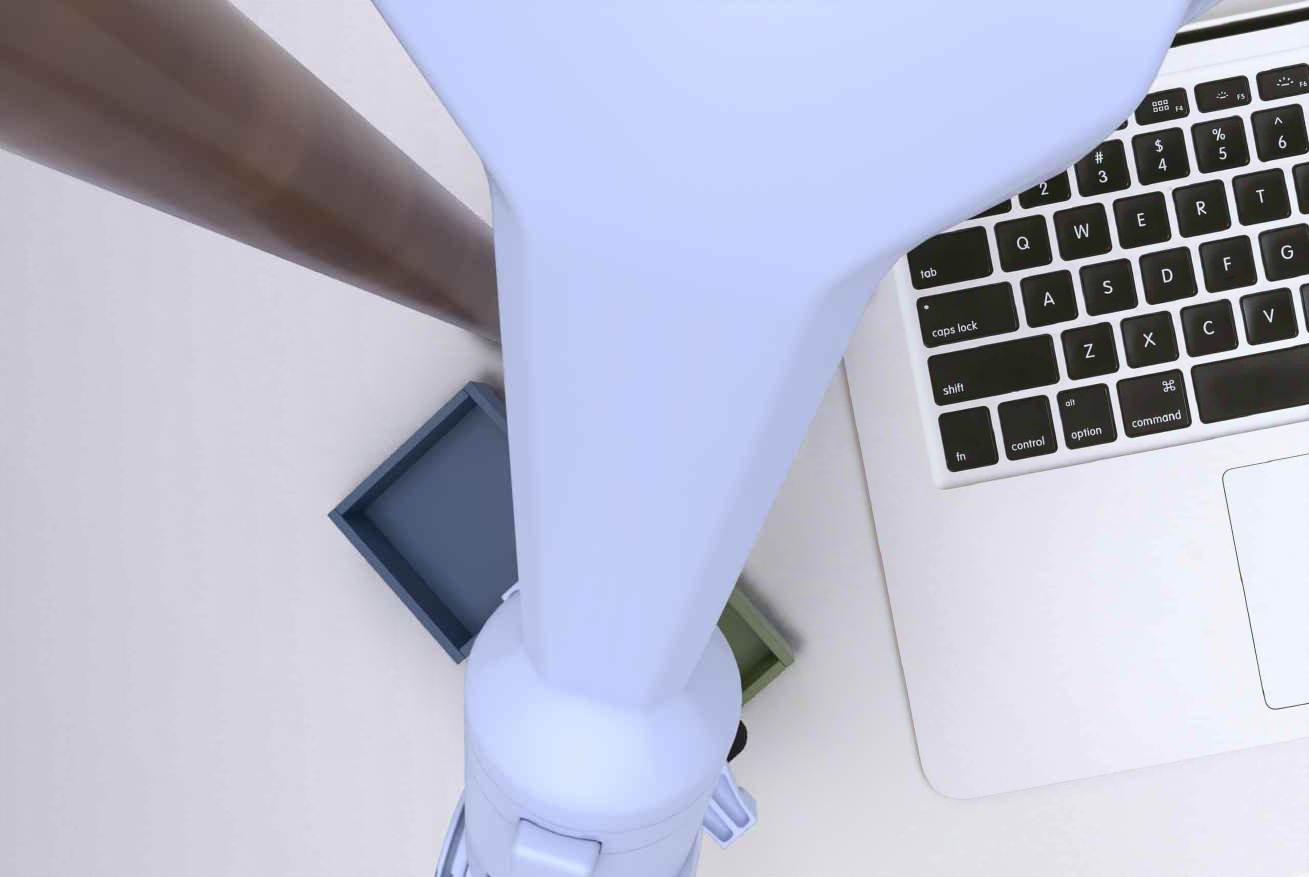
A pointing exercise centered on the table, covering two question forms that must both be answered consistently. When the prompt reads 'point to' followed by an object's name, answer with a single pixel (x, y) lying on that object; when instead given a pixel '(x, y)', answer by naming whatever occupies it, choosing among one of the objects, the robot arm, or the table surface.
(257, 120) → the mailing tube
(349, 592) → the table surface
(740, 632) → the tray
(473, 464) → the tray
